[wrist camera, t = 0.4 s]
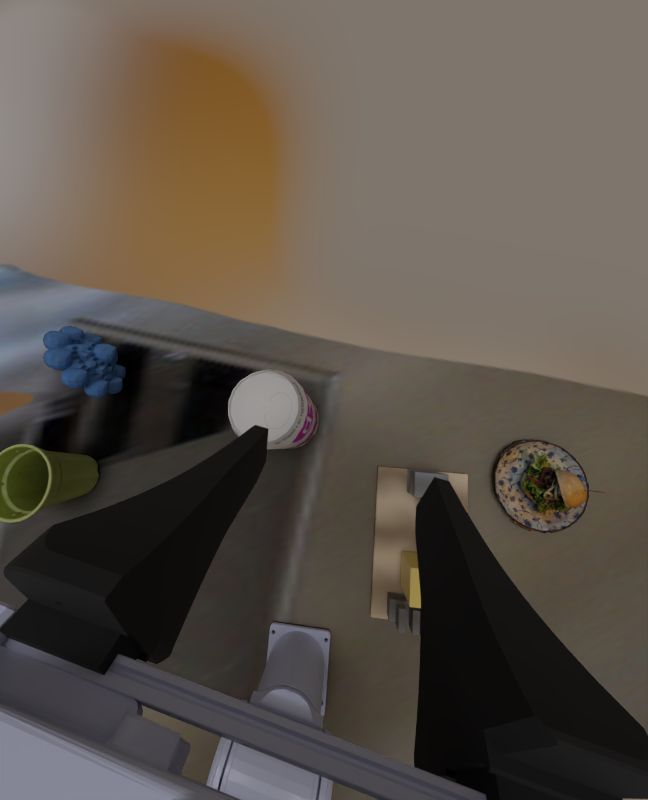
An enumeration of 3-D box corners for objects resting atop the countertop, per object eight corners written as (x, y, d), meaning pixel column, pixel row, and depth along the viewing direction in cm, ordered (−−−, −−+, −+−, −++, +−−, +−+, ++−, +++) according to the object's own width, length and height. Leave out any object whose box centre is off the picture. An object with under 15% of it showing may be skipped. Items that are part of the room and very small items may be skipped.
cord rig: (464, 626, 35) (484, 656, 30) (370, 613, 36) (374, 639, 31) (465, 473, 38) (482, 477, 33) (377, 466, 39) (382, 468, 34)
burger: (498, 428, 39) (534, 424, 32) (586, 456, 38) (645, 458, 30) (477, 511, 37) (510, 527, 30) (568, 543, 36) (626, 568, 29)
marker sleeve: (440, 589, 35) (456, 613, 30) (400, 584, 35) (409, 606, 30) (441, 555, 35) (456, 573, 31) (401, 551, 36) (410, 567, 31)
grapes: (159, 390, 44) (90, 370, 32) (121, 411, 44) (39, 398, 32) (133, 331, 46) (60, 292, 34) (97, 351, 46) (11, 318, 34)
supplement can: (326, 402, 41) (315, 377, 27) (309, 455, 40) (288, 460, 25) (276, 387, 42) (239, 355, 28) (258, 439, 41) (210, 434, 26)
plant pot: (87, 519, 41) (20, 537, 33) (41, 487, 43) (-35, 498, 34) (121, 462, 42) (65, 466, 34) (76, 434, 44) (10, 431, 35)
